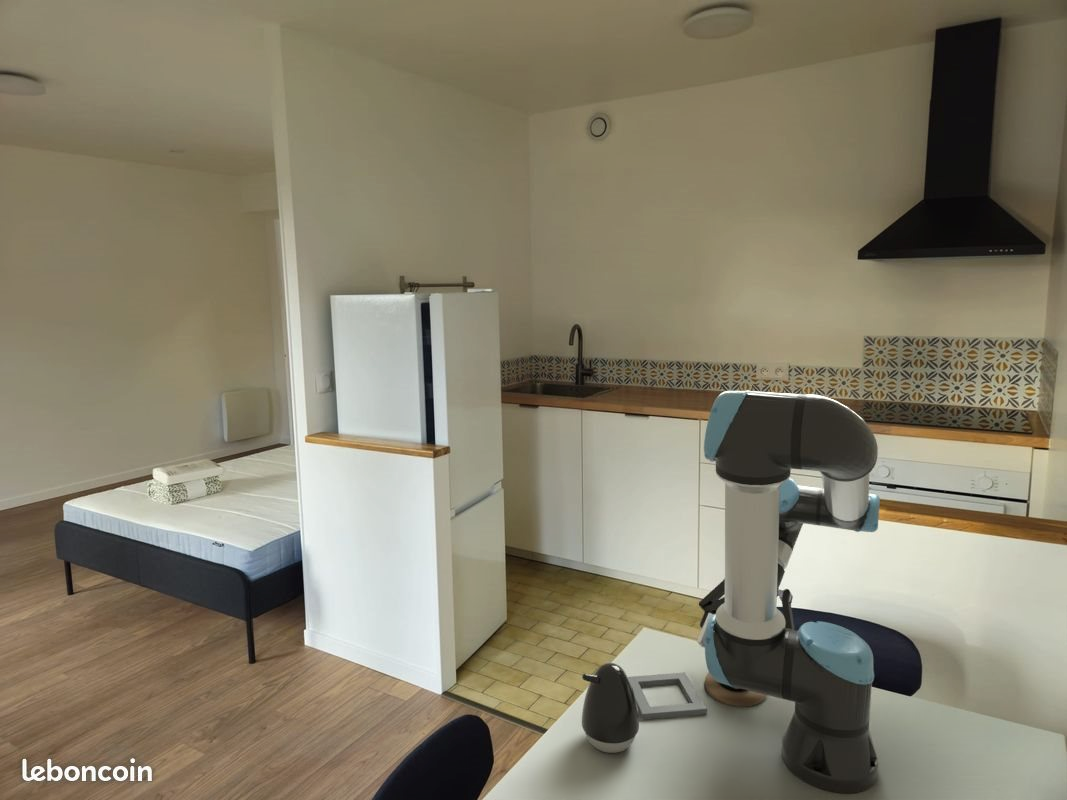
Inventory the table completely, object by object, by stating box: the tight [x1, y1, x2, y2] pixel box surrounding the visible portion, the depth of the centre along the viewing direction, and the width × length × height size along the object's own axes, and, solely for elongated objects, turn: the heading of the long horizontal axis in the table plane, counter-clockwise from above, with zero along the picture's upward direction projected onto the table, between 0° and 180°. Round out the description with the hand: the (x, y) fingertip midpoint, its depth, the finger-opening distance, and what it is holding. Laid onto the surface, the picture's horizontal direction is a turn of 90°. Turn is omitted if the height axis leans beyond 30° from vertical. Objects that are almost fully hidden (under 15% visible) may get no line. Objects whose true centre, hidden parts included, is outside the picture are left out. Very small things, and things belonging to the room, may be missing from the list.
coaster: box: [704, 672, 767, 708], centre depth 141 cm, size 12×12×1 cm
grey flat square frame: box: [627, 672, 708, 721], centre depth 138 cm, size 13×13×1 cm
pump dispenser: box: [581, 662, 640, 754], centre depth 123 cm, size 10×10×15 cm
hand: (731, 656), depth 138 cm, fingers open, 13 cm apart
